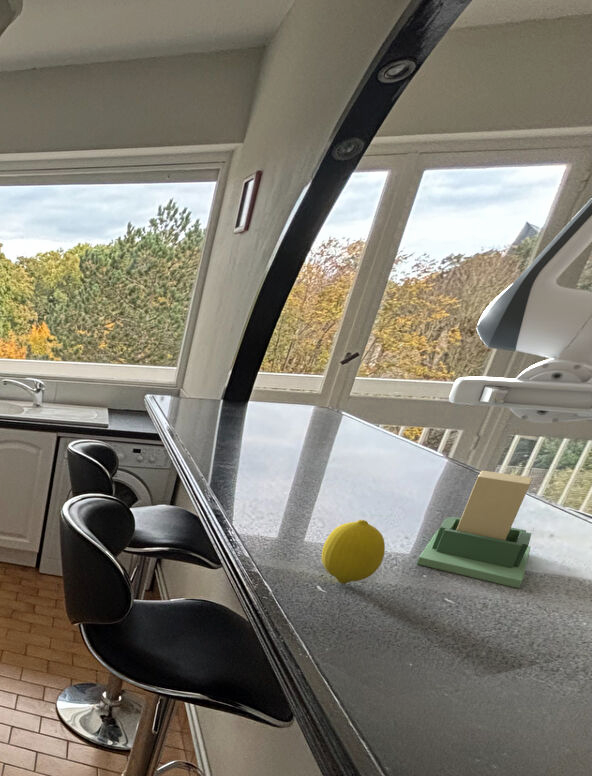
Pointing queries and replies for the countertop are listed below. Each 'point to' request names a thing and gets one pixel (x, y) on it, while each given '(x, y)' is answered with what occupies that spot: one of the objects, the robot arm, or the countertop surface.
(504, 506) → the cream pad
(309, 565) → the countertop surface
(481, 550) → the base holder
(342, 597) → the countertop surface
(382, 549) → the lemon
